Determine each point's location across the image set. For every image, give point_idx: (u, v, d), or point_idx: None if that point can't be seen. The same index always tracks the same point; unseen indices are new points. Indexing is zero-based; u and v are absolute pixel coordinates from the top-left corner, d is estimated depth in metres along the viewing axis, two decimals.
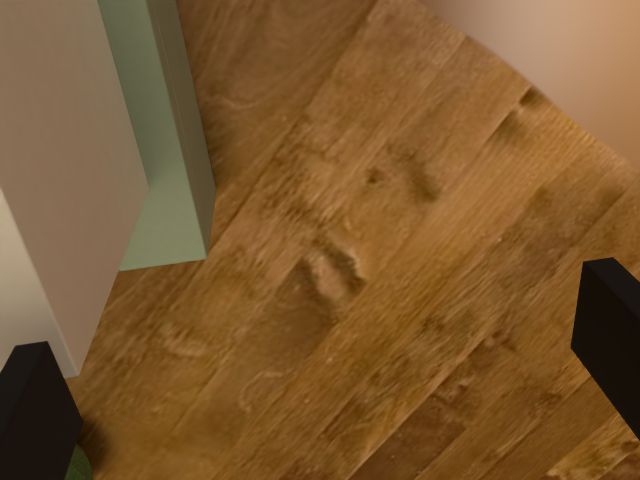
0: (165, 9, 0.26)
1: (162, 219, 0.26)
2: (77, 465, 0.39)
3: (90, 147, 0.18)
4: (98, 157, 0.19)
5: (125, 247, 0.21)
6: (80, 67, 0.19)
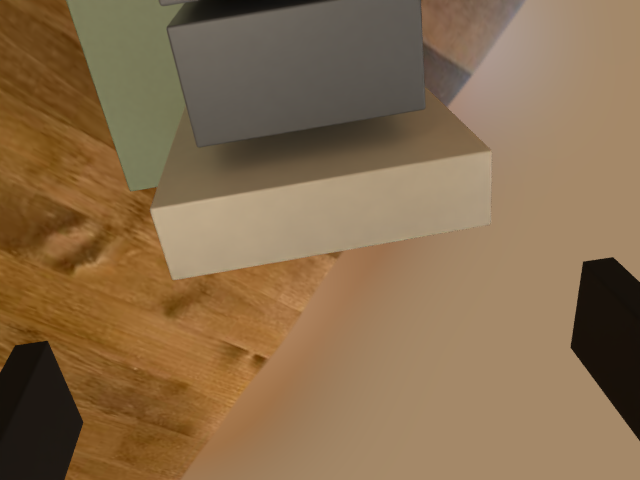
0: None
1: None
2: None
3: None
4: None
5: None
6: None
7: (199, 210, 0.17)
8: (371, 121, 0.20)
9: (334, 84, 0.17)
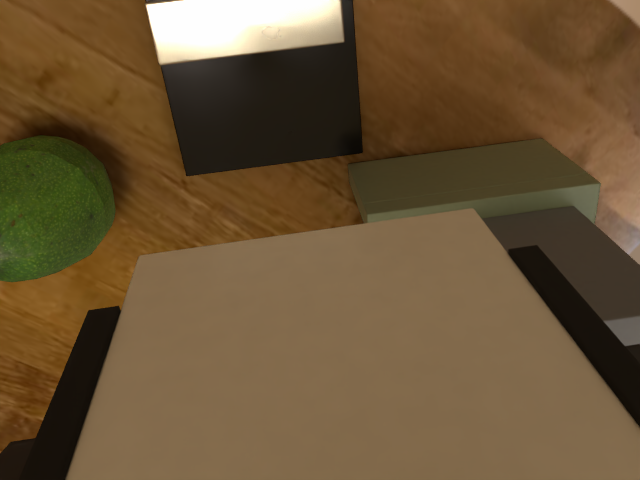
0: None
1: None
2: None
3: None
4: None
5: None
6: None
7: None
8: (467, 418, 0.10)
9: None
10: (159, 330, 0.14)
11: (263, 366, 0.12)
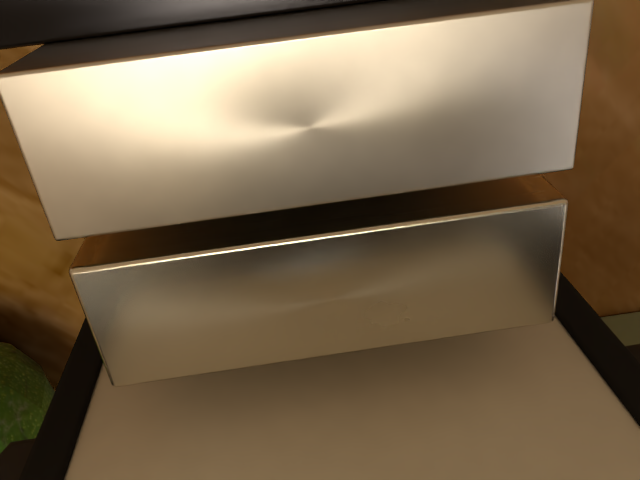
0: None
1: None
2: None
3: None
4: None
5: None
6: None
7: None
8: (467, 418, 0.10)
9: None
10: None
11: (262, 365, 0.12)
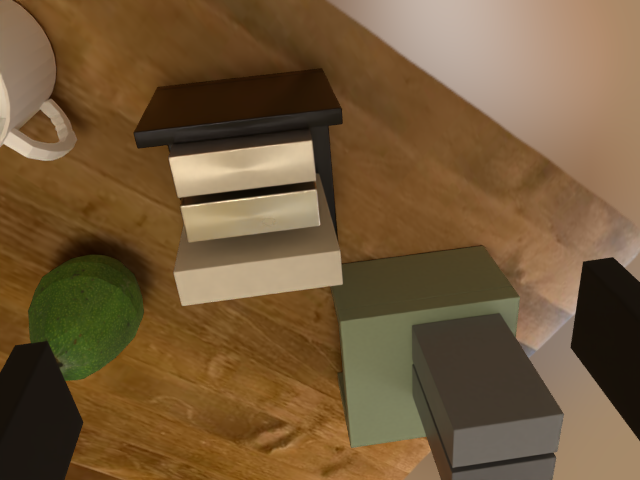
0: None
1: (377, 431, 0.50)
2: None
3: None
4: None
5: None
6: None
7: (197, 273, 0.34)
8: None
9: None
10: None
11: None
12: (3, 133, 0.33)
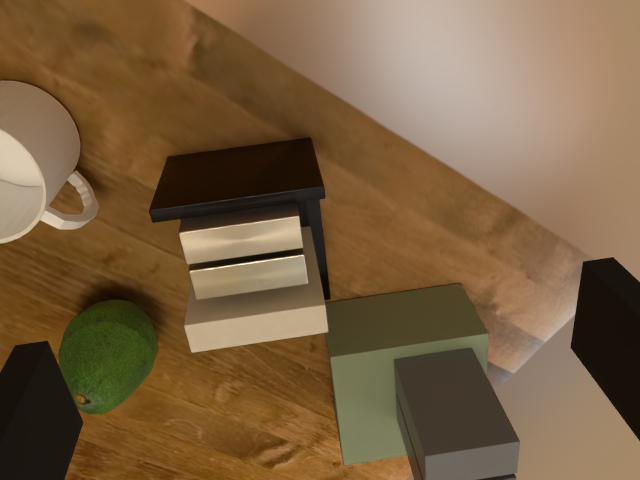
0: None
1: (367, 451, 0.56)
2: None
3: None
4: None
5: None
6: None
7: (204, 326, 0.40)
8: None
9: None
10: None
11: None
12: (40, 212, 0.39)
